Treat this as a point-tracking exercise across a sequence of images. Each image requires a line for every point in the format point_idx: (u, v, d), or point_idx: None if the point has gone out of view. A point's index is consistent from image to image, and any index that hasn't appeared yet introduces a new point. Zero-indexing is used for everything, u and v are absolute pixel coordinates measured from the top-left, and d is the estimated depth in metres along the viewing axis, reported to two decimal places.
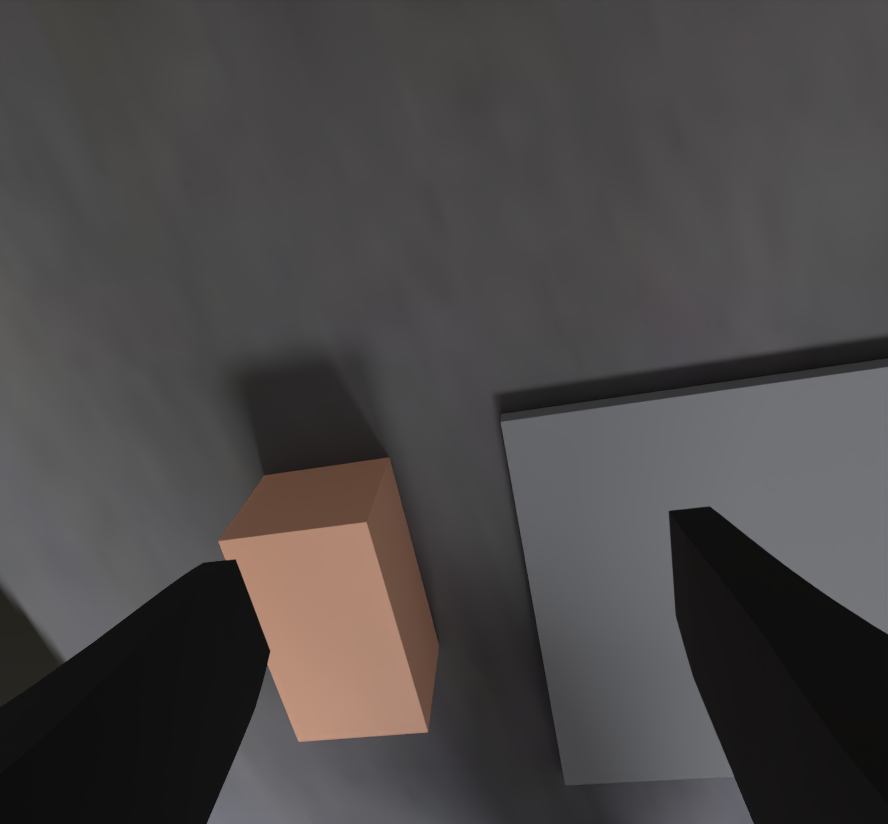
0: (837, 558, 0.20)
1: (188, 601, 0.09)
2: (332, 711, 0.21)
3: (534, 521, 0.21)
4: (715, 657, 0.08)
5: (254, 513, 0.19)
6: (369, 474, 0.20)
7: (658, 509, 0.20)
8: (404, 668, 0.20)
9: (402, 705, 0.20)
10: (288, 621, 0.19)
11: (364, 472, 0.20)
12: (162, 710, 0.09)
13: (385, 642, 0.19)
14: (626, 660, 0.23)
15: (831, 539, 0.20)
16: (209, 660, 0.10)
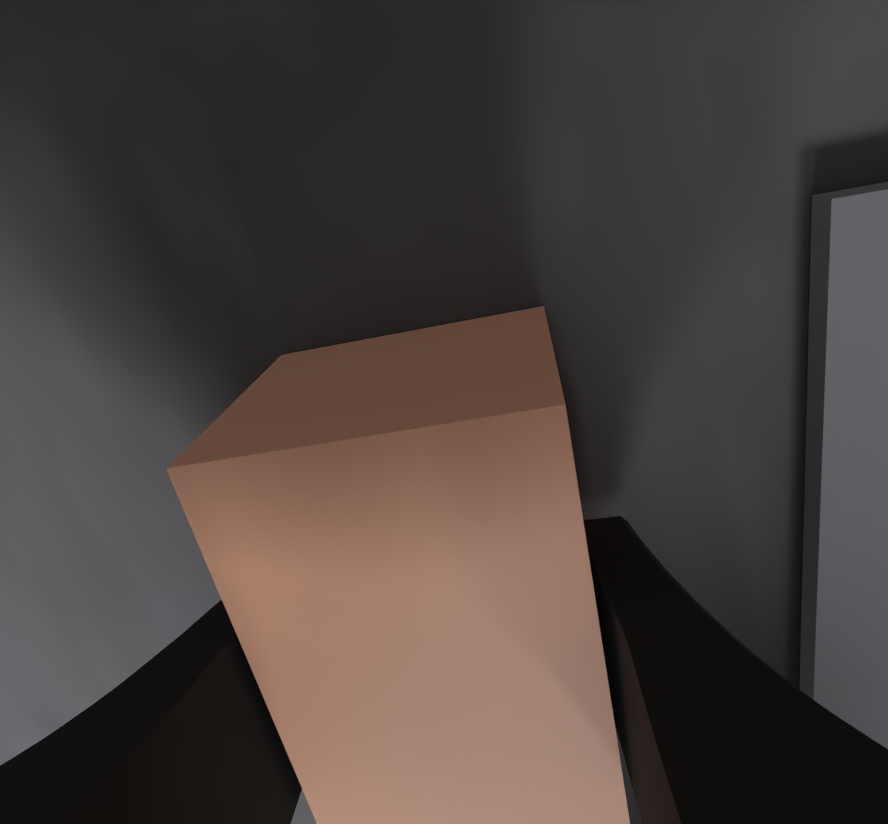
0: None
1: None
2: None
3: (858, 439, 0.10)
4: (611, 665, 0.08)
5: (258, 412, 0.08)
6: (514, 333, 0.09)
7: None
8: (609, 773, 0.08)
9: None
10: (341, 667, 0.08)
11: (500, 332, 0.09)
12: (252, 703, 0.08)
13: (573, 716, 0.08)
14: None
15: None
16: None
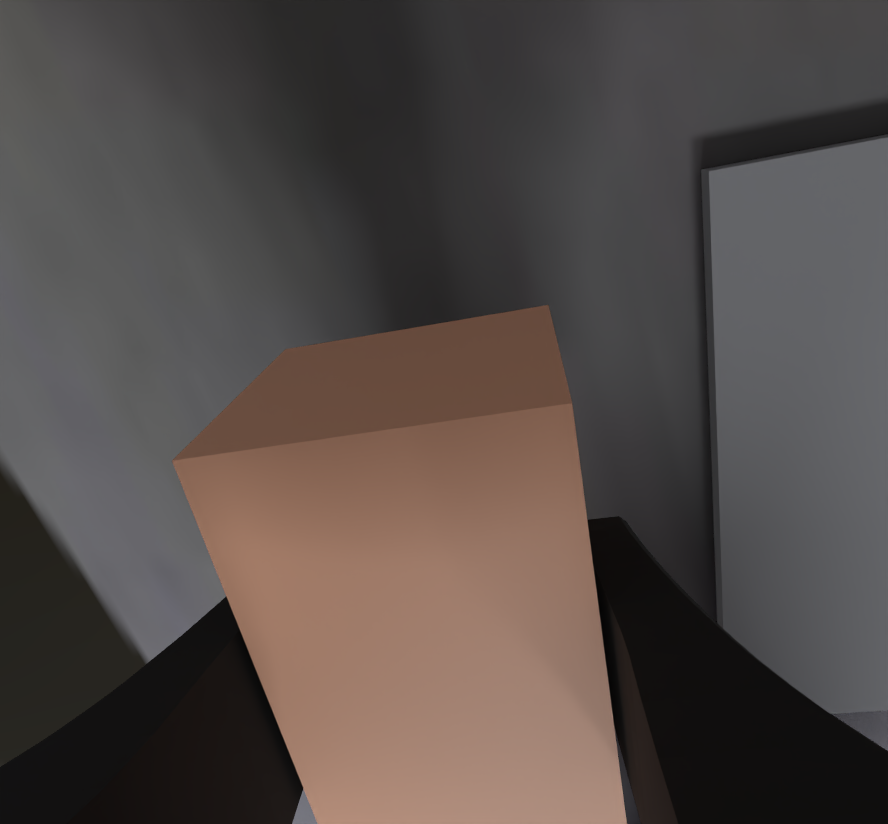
0: None
1: None
2: None
3: (737, 332, 0.15)
4: (610, 665, 0.08)
5: (264, 406, 0.08)
6: (519, 331, 0.09)
7: None
8: (607, 770, 0.08)
9: None
10: (343, 662, 0.08)
11: (505, 330, 0.09)
12: (254, 703, 0.08)
13: (572, 713, 0.08)
14: (836, 541, 0.17)
15: None
16: None
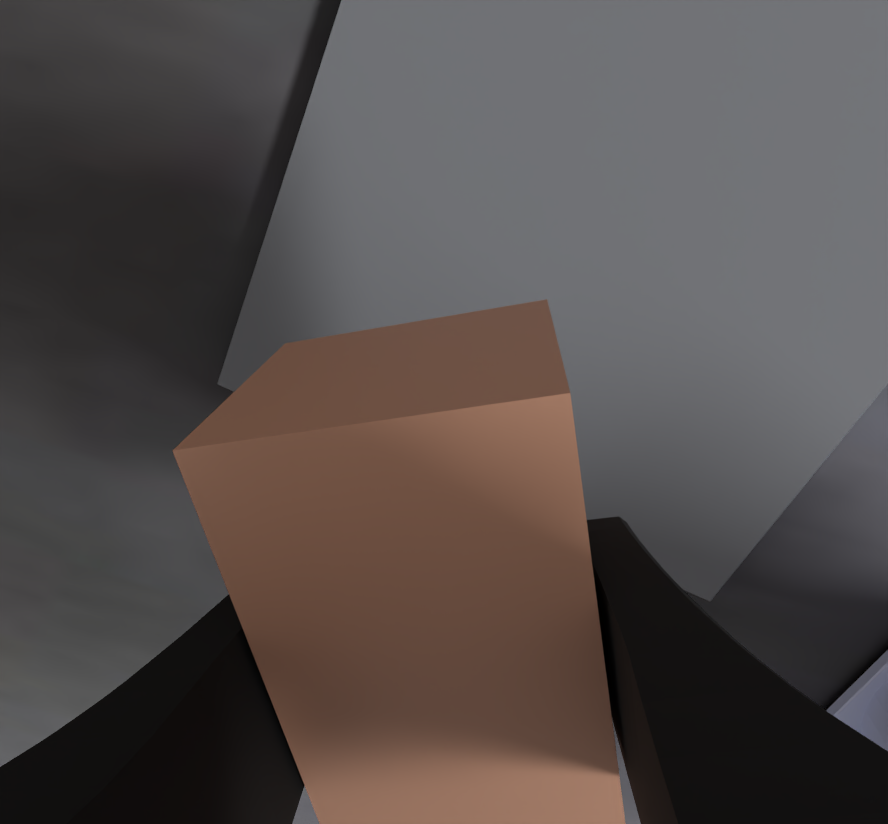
0: (587, 145, 0.15)
1: None
2: None
3: None
4: (610, 665, 0.08)
5: (263, 398, 0.08)
6: (518, 325, 0.09)
7: (397, 302, 0.17)
8: (604, 761, 0.08)
9: None
10: (342, 652, 0.08)
11: (504, 323, 0.09)
12: (254, 703, 0.08)
13: (570, 703, 0.08)
14: None
15: (554, 139, 0.15)
16: None
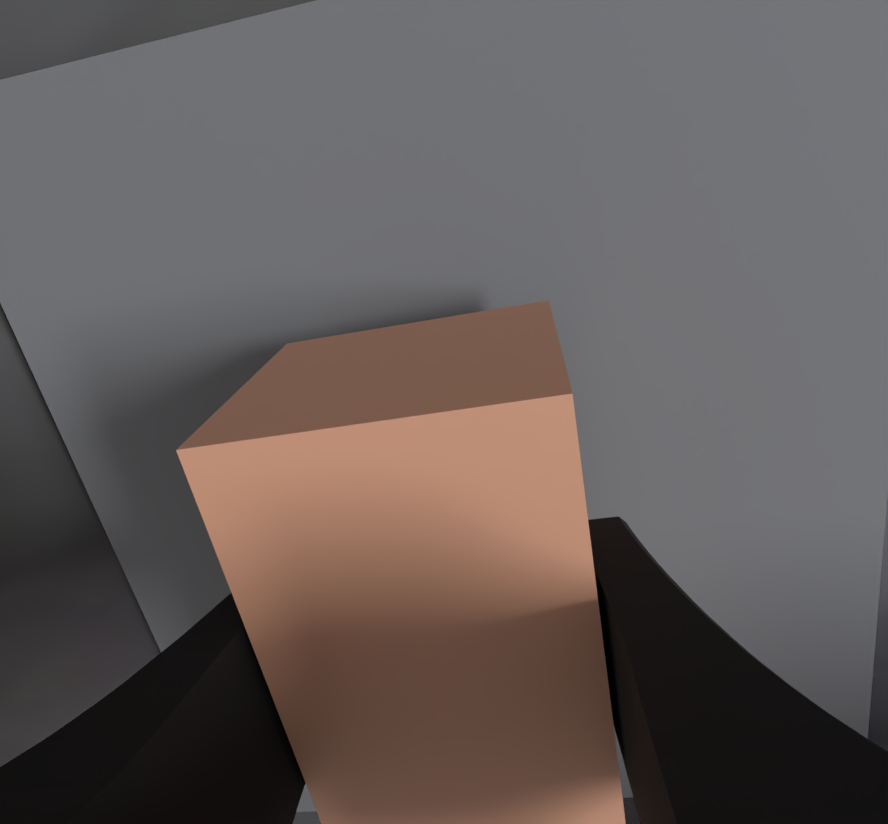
0: None
1: None
2: None
3: None
4: (609, 665, 0.08)
5: (266, 398, 0.08)
6: (520, 325, 0.09)
7: None
8: (605, 759, 0.09)
9: None
10: (344, 652, 0.08)
11: (505, 324, 0.09)
12: (255, 703, 0.08)
13: (571, 703, 0.08)
14: None
15: None
16: None
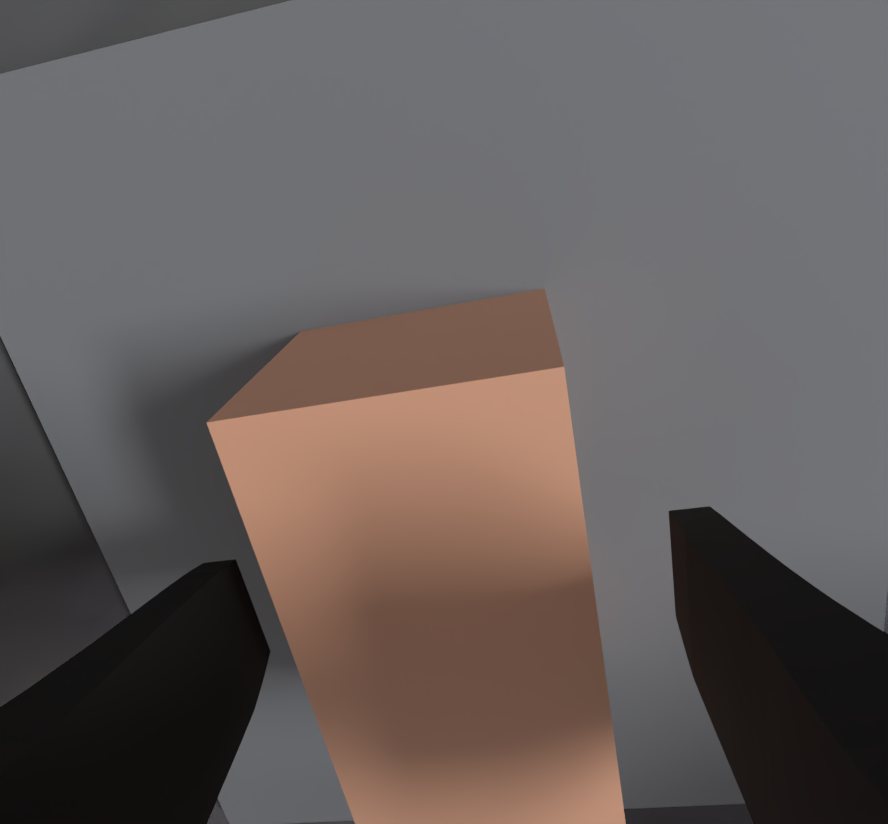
0: None
1: (188, 601, 0.09)
2: (437, 792, 0.10)
3: None
4: (715, 657, 0.08)
5: (285, 378, 0.09)
6: (518, 311, 0.10)
7: None
8: (598, 709, 0.09)
9: (582, 783, 0.10)
10: (358, 609, 0.09)
11: (504, 310, 0.10)
12: (162, 710, 0.09)
13: (566, 655, 0.09)
14: None
15: None
16: (209, 660, 0.10)
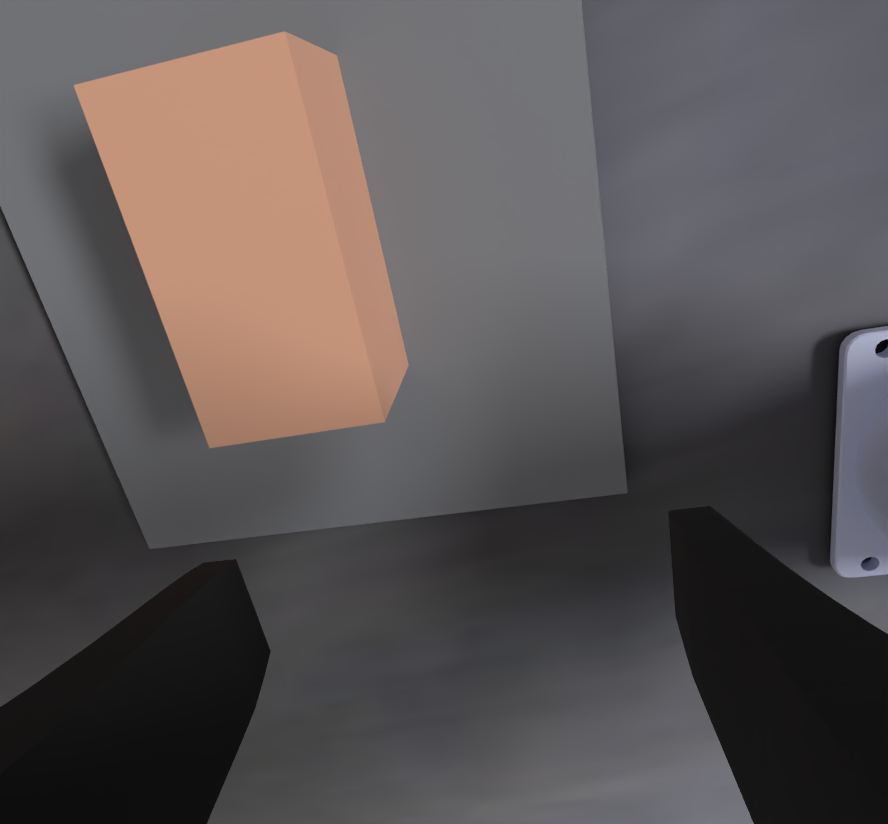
0: None
1: (188, 601, 0.09)
2: (253, 392, 0.15)
3: (244, 524, 0.21)
4: (715, 657, 0.08)
5: None
6: None
7: None
8: (348, 308, 0.14)
9: (347, 376, 0.14)
10: (183, 232, 0.14)
11: None
12: (162, 710, 0.09)
13: (320, 262, 0.14)
14: (410, 434, 0.19)
15: None
16: (209, 660, 0.10)
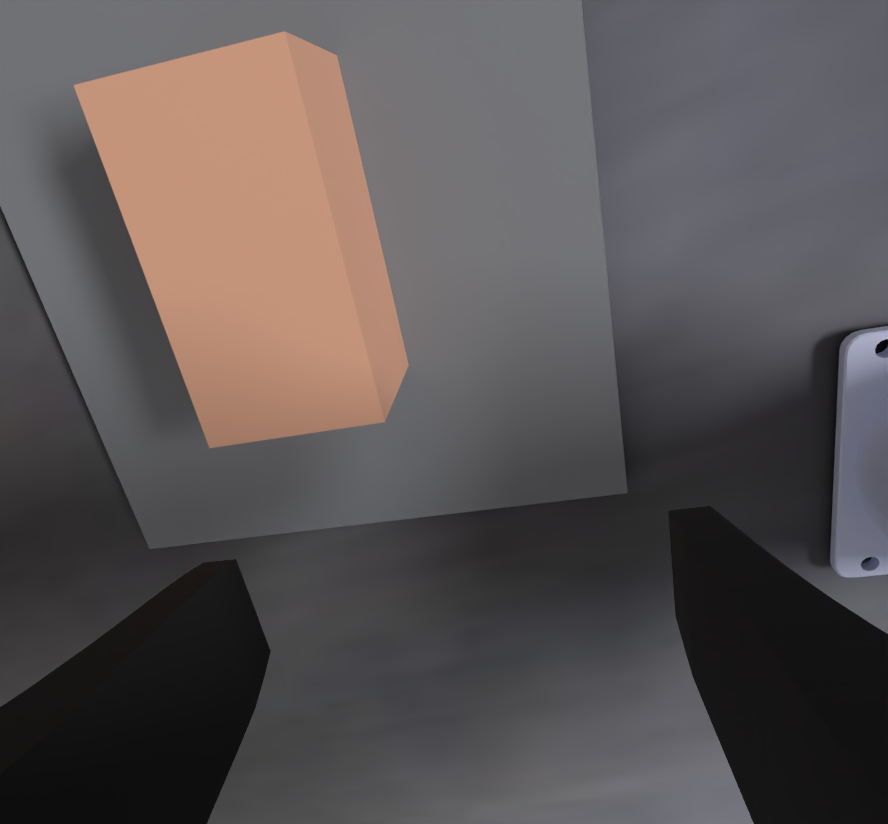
0: None
1: (188, 601, 0.09)
2: (253, 392, 0.15)
3: (244, 524, 0.21)
4: (715, 657, 0.08)
5: None
6: None
7: None
8: (348, 308, 0.14)
9: (347, 376, 0.14)
10: (183, 232, 0.14)
11: None
12: (162, 710, 0.09)
13: (320, 262, 0.14)
14: (410, 434, 0.19)
15: None
16: (209, 660, 0.10)
